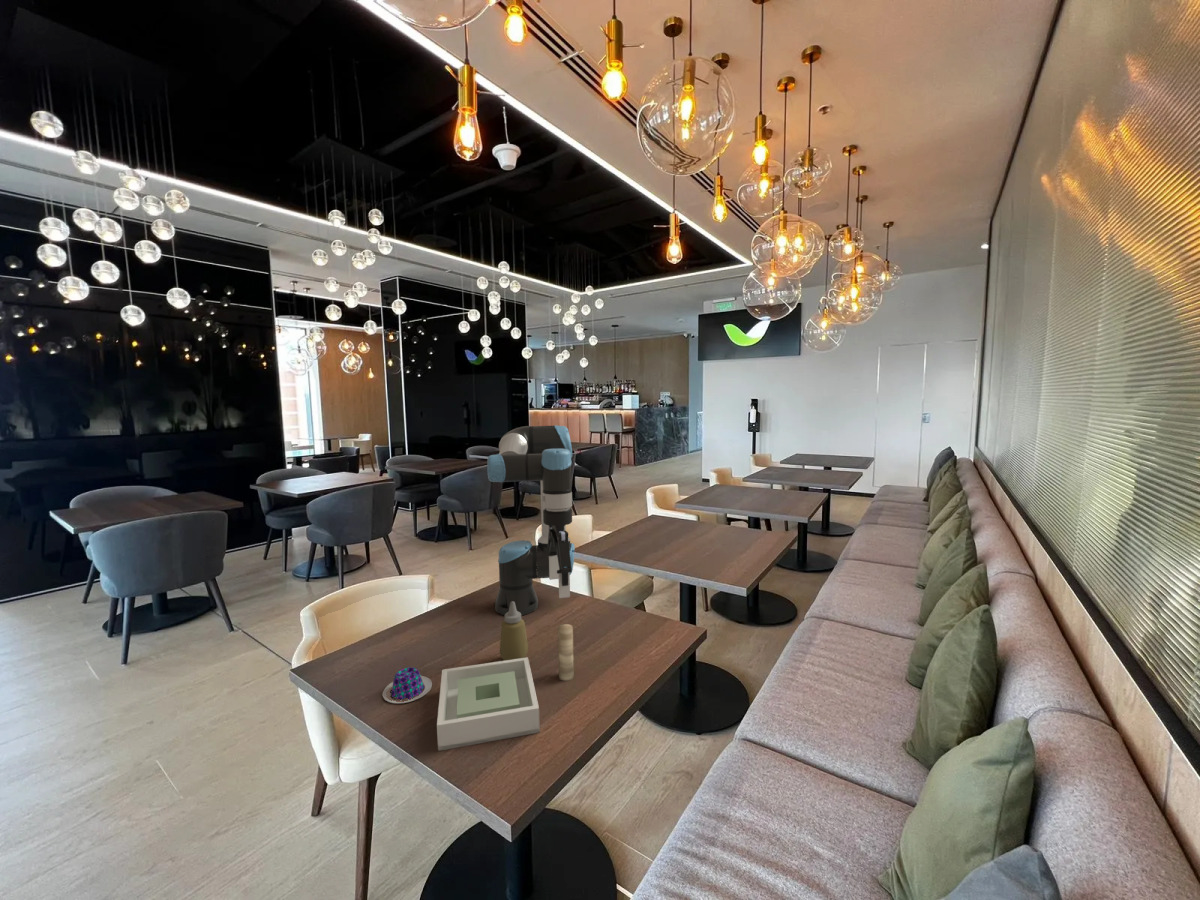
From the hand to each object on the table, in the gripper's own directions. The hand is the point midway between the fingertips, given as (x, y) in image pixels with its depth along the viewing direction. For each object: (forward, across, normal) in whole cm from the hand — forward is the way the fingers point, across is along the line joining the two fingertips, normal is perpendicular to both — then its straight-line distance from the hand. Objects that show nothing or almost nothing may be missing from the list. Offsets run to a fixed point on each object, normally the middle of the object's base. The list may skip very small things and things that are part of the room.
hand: (559, 587), depth 130 cm
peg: (+25, -1, +2) cm, 25 cm away
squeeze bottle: (+25, -12, -11) cm, 30 cm away
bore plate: (+26, +8, -20) cm, 33 cm away
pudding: (+26, -7, -39) cm, 48 cm away
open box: (+26, +8, -20) cm, 33 cm away
